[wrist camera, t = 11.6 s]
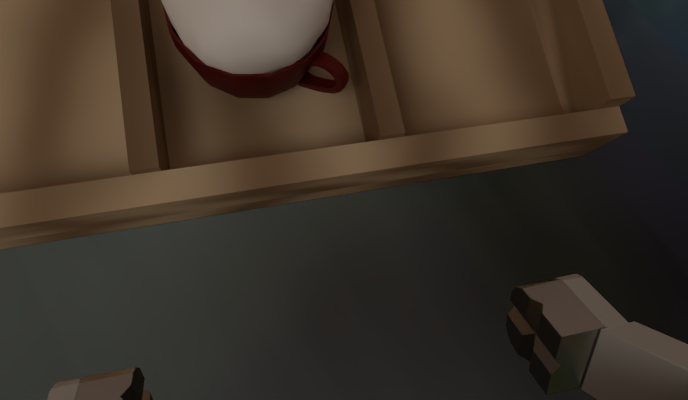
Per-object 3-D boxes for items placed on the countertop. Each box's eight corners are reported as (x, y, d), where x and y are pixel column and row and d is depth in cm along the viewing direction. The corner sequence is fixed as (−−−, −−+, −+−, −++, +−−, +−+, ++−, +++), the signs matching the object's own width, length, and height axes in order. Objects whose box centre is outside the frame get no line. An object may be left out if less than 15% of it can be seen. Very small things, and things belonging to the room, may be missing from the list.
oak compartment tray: (506, -83, 27) (548, -154, 23) (582, 156, 24) (645, 122, 20) (-117, -48, 21) (-207, -134, 17) (-117, 268, 18) (-226, 253, 14)
